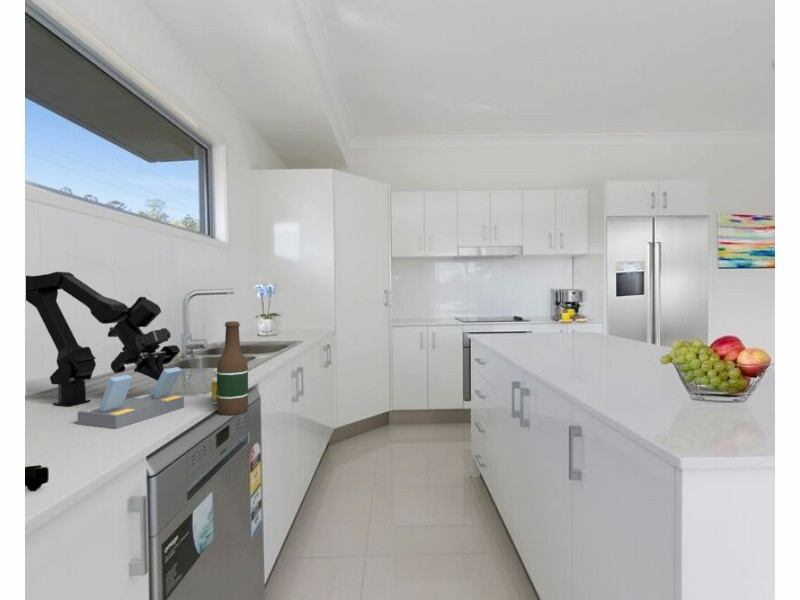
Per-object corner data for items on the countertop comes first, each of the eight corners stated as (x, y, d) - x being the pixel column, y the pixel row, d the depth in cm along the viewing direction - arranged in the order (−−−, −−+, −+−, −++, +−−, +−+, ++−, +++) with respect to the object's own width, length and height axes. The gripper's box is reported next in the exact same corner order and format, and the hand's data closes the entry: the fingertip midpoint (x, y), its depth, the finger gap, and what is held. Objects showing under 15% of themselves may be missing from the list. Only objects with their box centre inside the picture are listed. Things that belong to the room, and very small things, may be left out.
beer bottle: (230, 417, 117) (229, 322, 117) (210, 413, 121) (210, 321, 121) (254, 411, 124) (254, 321, 123) (235, 407, 128) (234, 320, 127)
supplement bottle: (229, 399, 137) (229, 367, 137) (233, 403, 132) (233, 369, 132) (209, 402, 134) (209, 369, 134) (213, 405, 129) (213, 371, 129)
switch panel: (77, 424, 111) (77, 411, 111) (149, 404, 131) (149, 393, 131) (115, 428, 107) (115, 415, 107) (183, 407, 127) (183, 396, 127)
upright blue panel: (98, 410, 110) (109, 378, 108) (117, 405, 114) (128, 374, 113) (102, 413, 109) (114, 381, 108) (121, 408, 114) (132, 377, 113)
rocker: (150, 396, 124) (163, 369, 122) (165, 392, 129) (177, 366, 127) (154, 399, 124) (167, 373, 122) (169, 395, 128) (181, 370, 127)
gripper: (120, 320, 118) (153, 367, 115) (175, 317, 136) (206, 357, 133) (96, 349, 121) (128, 395, 117) (153, 342, 138) (183, 382, 135)
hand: (164, 381), depth 126 cm, fingers closed, pressing on rocker
